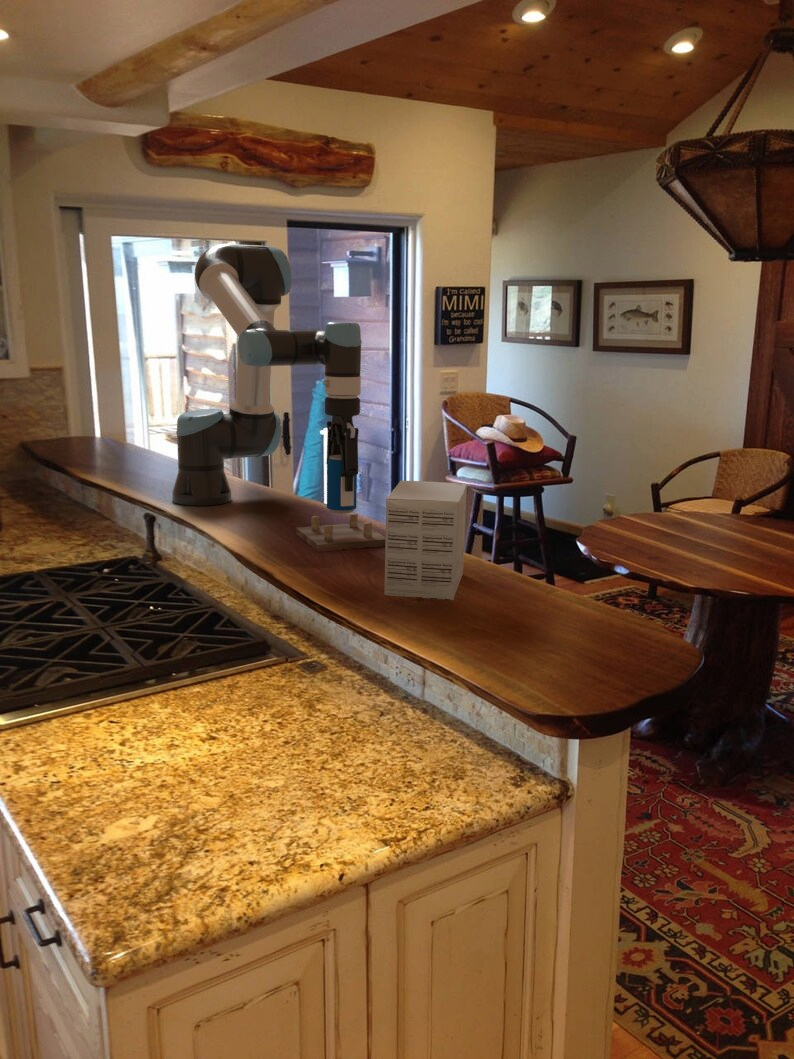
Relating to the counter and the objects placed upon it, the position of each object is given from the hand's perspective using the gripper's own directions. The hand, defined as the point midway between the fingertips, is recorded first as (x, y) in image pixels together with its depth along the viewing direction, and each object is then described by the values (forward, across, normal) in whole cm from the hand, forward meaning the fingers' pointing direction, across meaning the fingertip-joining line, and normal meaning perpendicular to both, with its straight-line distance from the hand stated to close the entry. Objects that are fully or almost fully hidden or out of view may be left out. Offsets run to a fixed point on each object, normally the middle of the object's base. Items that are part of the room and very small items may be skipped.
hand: (341, 502), depth 199 cm
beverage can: (+2, 0, 0) cm, 2 cm away
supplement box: (+9, +36, +4) cm, 37 cm away
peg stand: (+9, 0, 0) cm, 9 cm away
